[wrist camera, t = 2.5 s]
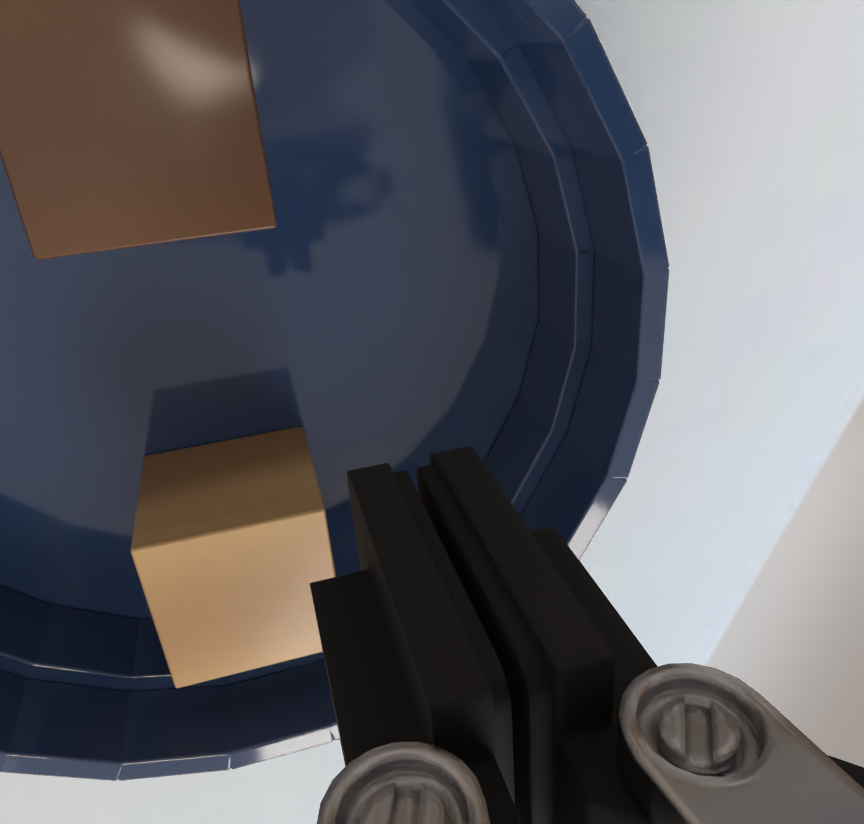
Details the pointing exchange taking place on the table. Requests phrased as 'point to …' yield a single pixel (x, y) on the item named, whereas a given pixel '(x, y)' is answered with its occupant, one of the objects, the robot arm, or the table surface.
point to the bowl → (326, 349)
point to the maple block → (232, 553)
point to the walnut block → (129, 123)
